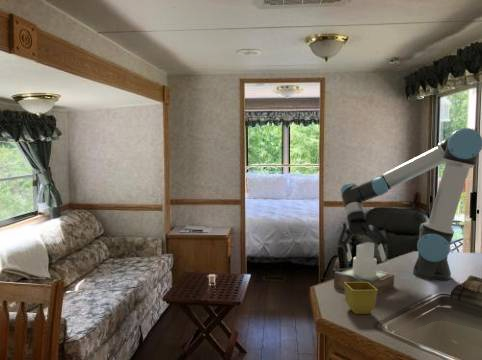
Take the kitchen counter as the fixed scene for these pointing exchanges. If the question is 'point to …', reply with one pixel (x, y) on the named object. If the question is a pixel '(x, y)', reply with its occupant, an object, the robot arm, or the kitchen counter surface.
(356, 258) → the cylinder with rectangular tab
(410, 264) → the kitchen counter surface
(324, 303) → the kitchen counter surface
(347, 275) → the dock
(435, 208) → the robot arm
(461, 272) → the kitchen counter surface
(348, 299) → the flower pot
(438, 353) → the kitchen counter surface
